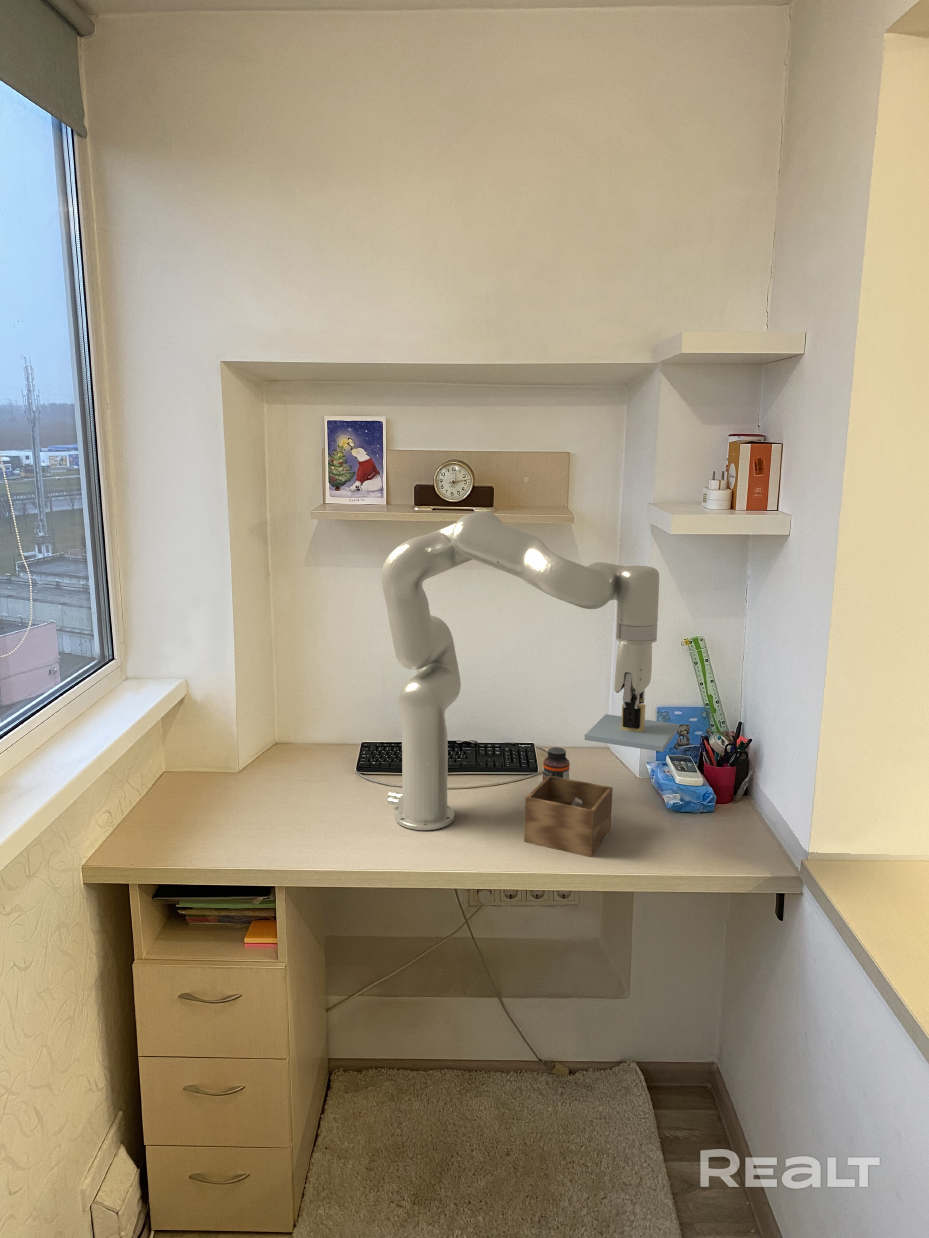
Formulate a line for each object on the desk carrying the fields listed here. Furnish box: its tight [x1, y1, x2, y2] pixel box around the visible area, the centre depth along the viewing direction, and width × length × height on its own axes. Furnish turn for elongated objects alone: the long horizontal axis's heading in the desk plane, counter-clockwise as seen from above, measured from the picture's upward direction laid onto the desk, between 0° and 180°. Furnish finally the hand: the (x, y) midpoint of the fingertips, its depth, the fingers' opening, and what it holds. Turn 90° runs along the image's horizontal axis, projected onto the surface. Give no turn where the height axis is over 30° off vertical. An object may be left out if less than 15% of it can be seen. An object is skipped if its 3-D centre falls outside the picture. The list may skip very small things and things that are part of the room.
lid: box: [584, 703, 680, 753], centre depth 165 cm, size 15×14×6 cm
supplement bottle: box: [541, 746, 571, 782], centre depth 194 cm, size 6×6×11 cm
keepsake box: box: [523, 775, 613, 858], centre depth 175 cm, size 14×13×10 cm
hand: (633, 724), depth 165 cm, fingers closed on lid
